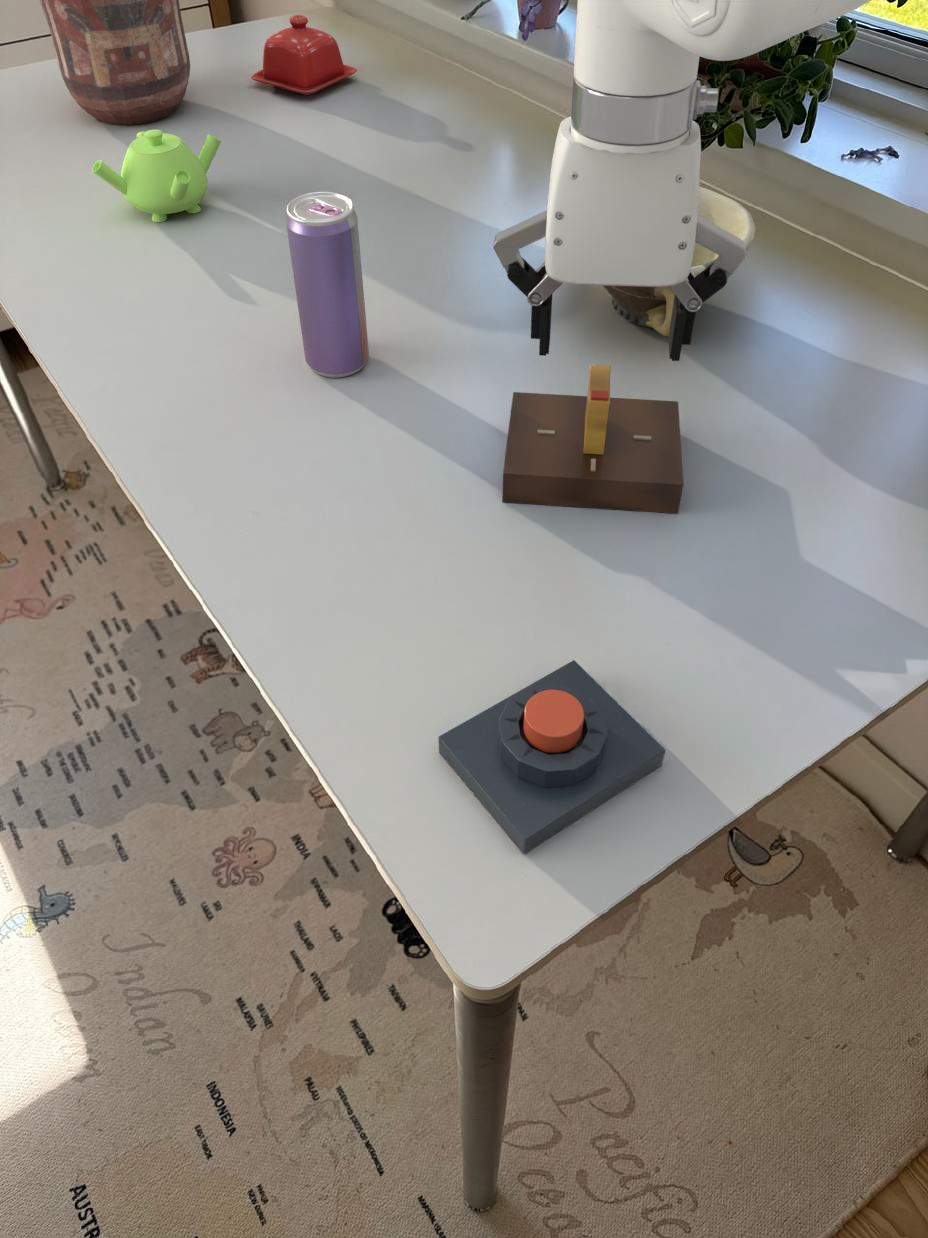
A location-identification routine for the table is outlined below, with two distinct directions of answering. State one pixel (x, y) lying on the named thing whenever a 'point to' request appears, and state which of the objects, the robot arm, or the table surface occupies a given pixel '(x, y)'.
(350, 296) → the beverage can
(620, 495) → the plate
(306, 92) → the butter dish
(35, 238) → the table surface
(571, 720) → the release button
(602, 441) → the thumbturn
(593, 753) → the box
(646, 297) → the bowl
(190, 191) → the teapot
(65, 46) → the pottery
